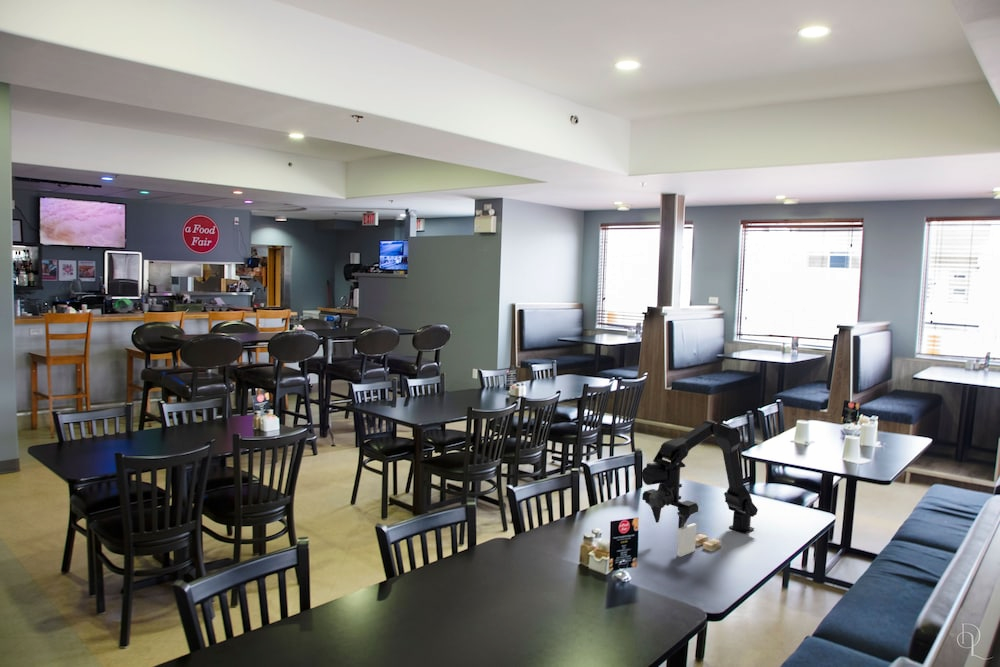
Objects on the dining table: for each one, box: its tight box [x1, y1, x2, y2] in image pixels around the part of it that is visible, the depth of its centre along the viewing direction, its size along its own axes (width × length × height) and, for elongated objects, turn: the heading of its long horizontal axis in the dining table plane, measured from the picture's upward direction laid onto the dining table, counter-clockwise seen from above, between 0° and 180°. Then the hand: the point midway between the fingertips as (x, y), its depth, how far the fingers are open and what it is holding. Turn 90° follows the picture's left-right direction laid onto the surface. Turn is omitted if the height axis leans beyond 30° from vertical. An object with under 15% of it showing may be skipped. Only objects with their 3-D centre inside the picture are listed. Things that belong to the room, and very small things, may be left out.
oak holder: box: [695, 533, 722, 552], centre depth 229 cm, size 6×8×2 cm
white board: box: [676, 522, 698, 558], centre depth 222 cm, size 8×1×9 cm, turn 130°
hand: (668, 526), depth 228 cm, fingers open, 9 cm apart
